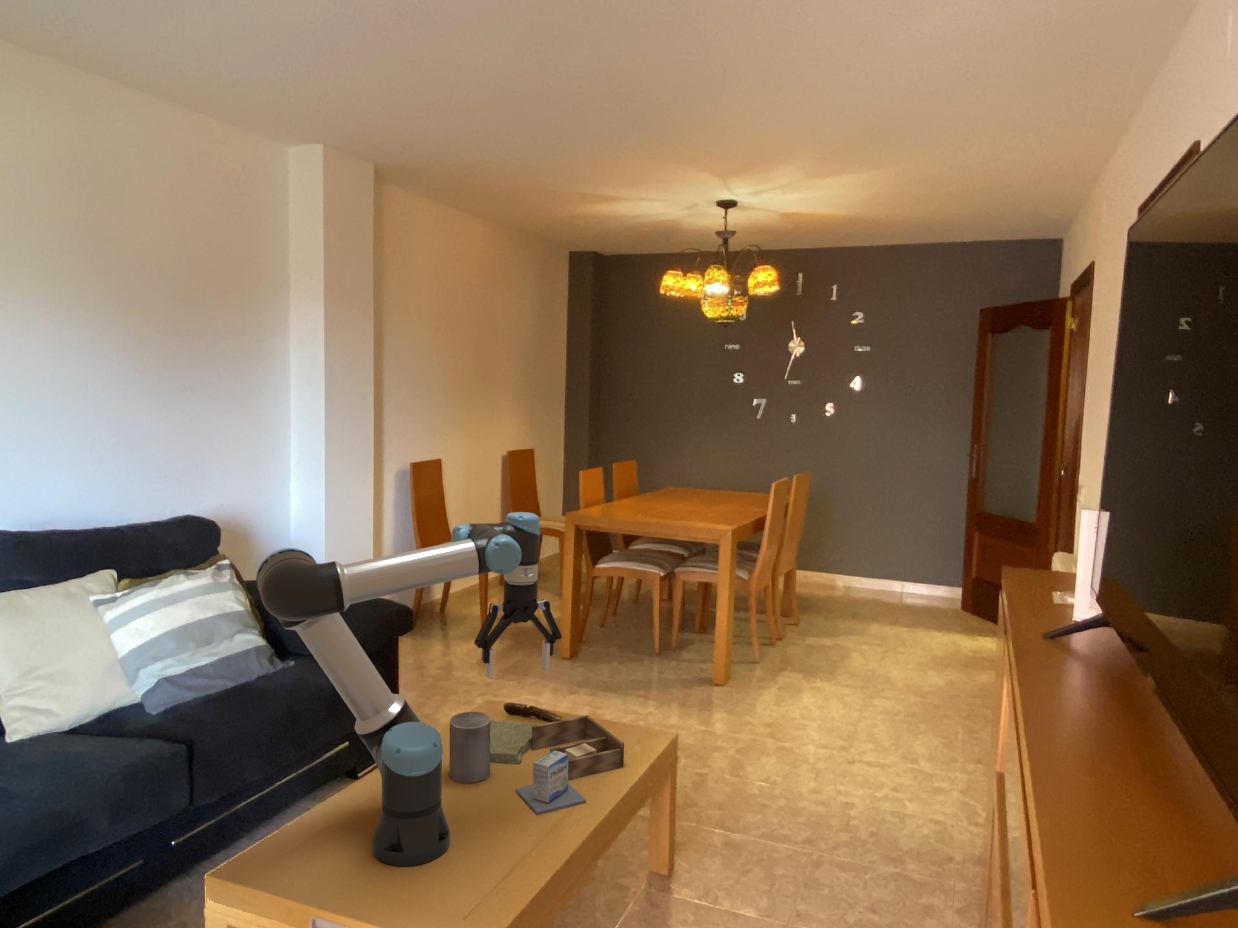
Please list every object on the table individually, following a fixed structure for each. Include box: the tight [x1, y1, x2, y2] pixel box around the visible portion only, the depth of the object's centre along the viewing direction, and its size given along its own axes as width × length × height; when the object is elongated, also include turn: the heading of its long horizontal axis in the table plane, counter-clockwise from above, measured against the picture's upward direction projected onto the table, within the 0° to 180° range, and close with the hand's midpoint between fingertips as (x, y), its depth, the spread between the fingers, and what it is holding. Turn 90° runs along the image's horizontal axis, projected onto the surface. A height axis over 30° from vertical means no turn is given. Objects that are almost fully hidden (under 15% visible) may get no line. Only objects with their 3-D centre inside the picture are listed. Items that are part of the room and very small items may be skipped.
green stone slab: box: [490, 719, 538, 765], centre depth 216 cm, size 19×20×4 cm
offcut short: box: [565, 743, 597, 760], centre depth 205 cm, size 6×5×2 cm
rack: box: [530, 714, 625, 781], centre depth 210 cm, size 16×20×6 cm
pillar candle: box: [448, 711, 492, 784], centre depth 199 cm, size 10×10×15 cm
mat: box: [515, 782, 587, 816], centre depth 190 cm, size 12×12×1 cm
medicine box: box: [532, 750, 569, 803], centre depth 189 cm, size 8×4×9 cm, turn 149°
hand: (517, 673), depth 190 cm, fingers open, 13 cm apart
